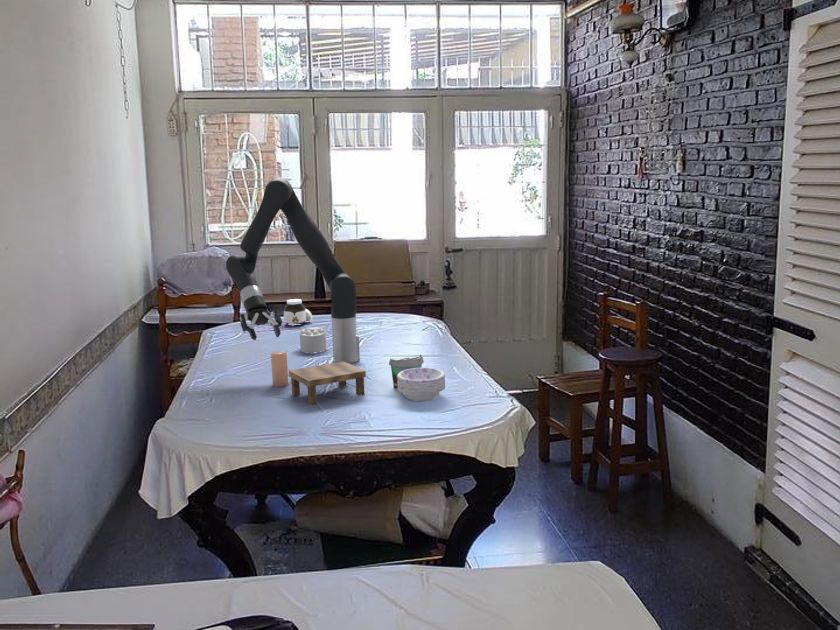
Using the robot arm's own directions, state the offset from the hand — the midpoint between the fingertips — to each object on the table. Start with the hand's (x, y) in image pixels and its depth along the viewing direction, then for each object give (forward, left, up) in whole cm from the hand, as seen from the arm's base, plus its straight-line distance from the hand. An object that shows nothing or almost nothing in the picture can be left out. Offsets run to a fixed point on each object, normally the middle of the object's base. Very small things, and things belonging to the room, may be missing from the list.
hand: (266, 337), depth 284 cm
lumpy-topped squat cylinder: (-31, -31, -15) cm, 46 cm away
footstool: (-8, +31, -15) cm, 35 cm away
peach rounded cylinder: (0, +10, -15) cm, 18 cm away
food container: (-34, +40, -15) cm, 55 cm away
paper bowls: (-31, +52, -15) cm, 63 cm away
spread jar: (-48, -85, -15) cm, 99 cm away
